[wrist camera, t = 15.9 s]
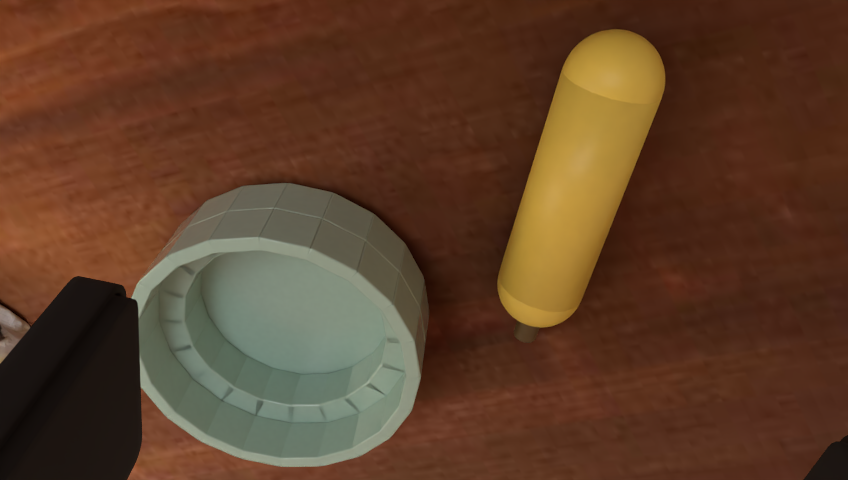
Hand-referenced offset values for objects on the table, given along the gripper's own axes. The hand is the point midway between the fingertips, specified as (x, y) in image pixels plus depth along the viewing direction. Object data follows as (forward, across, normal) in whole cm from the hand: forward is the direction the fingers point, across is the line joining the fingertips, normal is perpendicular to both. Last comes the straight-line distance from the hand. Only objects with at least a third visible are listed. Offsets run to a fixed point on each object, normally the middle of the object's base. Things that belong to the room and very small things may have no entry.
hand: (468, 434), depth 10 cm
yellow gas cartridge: (+19, -4, +5) cm, 20 cm away
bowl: (+20, +5, +14) cm, 25 cm away
